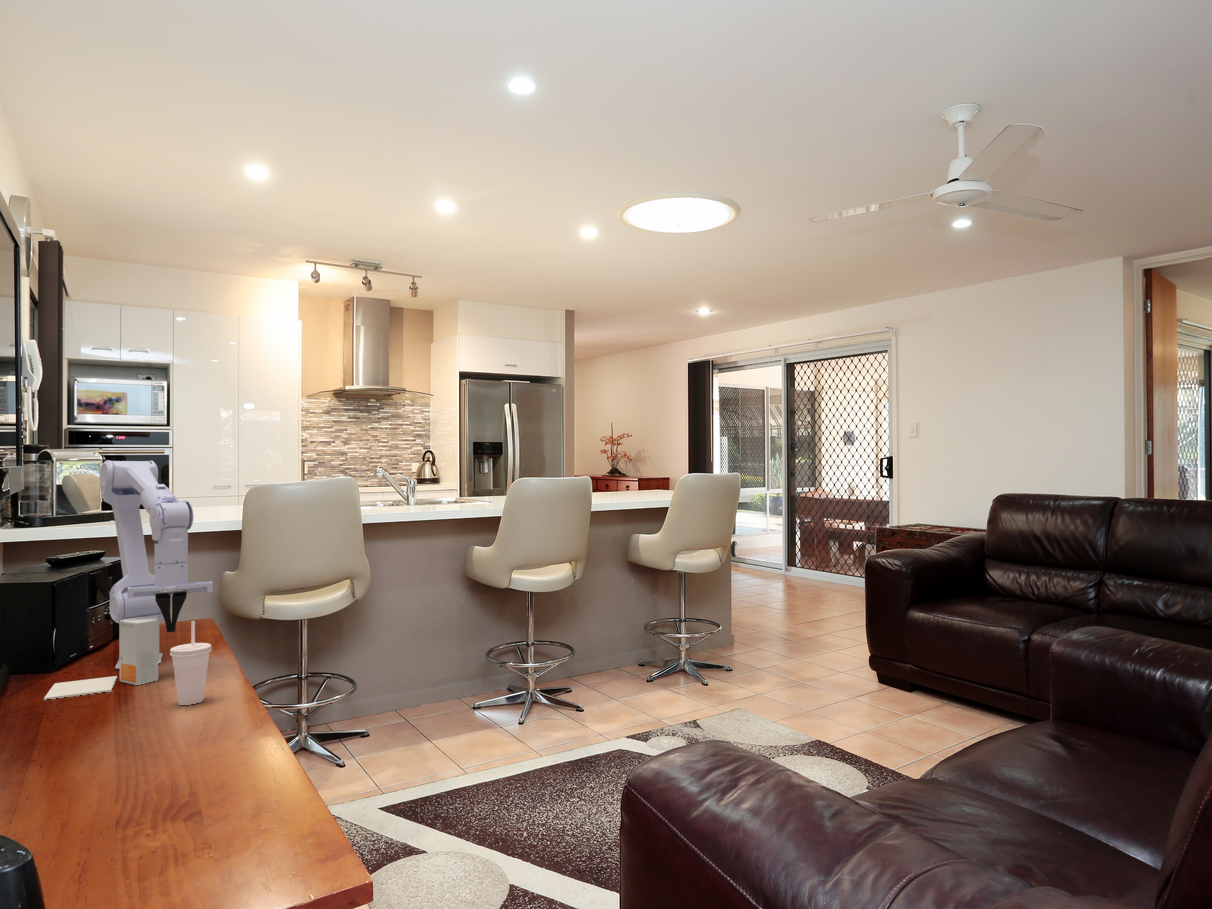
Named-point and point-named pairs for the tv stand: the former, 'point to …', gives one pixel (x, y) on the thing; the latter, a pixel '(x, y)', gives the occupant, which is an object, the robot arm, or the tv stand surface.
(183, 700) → the smoothie
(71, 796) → the tv stand surface
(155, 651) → the skincare box
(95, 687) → the felt mat
